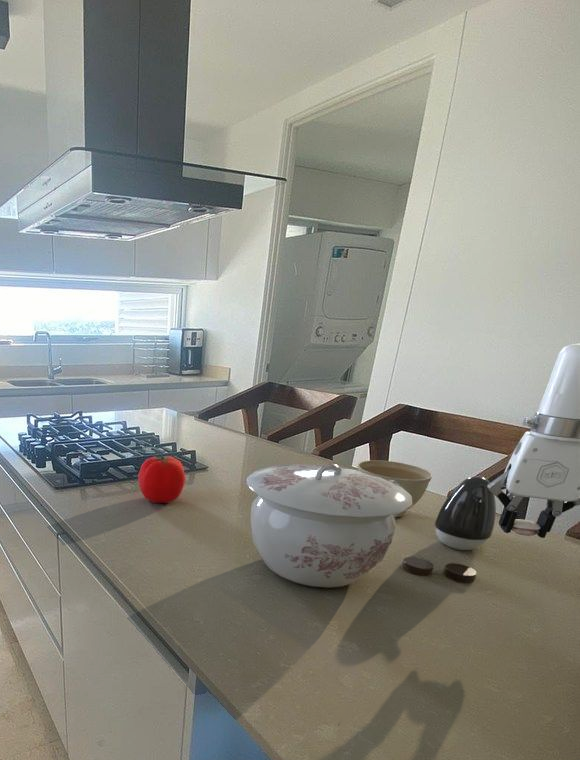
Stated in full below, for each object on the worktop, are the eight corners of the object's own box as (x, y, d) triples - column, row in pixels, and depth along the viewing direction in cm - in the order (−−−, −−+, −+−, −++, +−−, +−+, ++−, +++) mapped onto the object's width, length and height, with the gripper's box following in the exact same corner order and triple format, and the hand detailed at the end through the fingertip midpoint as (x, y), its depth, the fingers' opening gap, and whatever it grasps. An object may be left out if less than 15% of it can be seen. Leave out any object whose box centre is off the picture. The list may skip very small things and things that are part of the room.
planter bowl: (394, 528, 112) (406, 483, 107) (335, 506, 124) (344, 465, 120) (434, 516, 119) (446, 473, 115) (374, 496, 132) (384, 457, 127)
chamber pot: (223, 588, 85) (236, 475, 77) (248, 531, 109) (260, 439, 100) (400, 624, 76) (437, 500, 68) (386, 553, 100) (412, 454, 91)
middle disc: (470, 572, 92) (472, 565, 92) (477, 585, 88) (479, 577, 88) (440, 568, 94) (442, 561, 93) (445, 579, 90) (448, 572, 89)
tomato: (127, 501, 125) (128, 457, 120) (155, 488, 135) (156, 447, 130) (168, 511, 118) (170, 466, 114) (194, 497, 129) (197, 454, 124)
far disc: (429, 566, 95) (431, 559, 94) (433, 577, 90) (435, 570, 90) (400, 561, 96) (402, 554, 96) (403, 572, 92) (405, 565, 91)
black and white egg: (493, 559, 98) (520, 487, 92) (435, 551, 101) (457, 481, 95) (478, 539, 107) (501, 472, 100) (425, 532, 110) (444, 467, 103)
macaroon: (518, 538, 82) (524, 524, 81) (497, 526, 87) (502, 513, 86) (542, 538, 83) (548, 525, 82) (520, 526, 87) (525, 513, 86)
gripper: (507, 427, 77) (471, 532, 84) (642, 437, 71) (590, 549, 79) (493, 418, 83) (461, 517, 91) (616, 428, 78) (571, 532, 85)
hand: (521, 531), depth 85 cm, fingers closed on macaroon, 4 cm apart
